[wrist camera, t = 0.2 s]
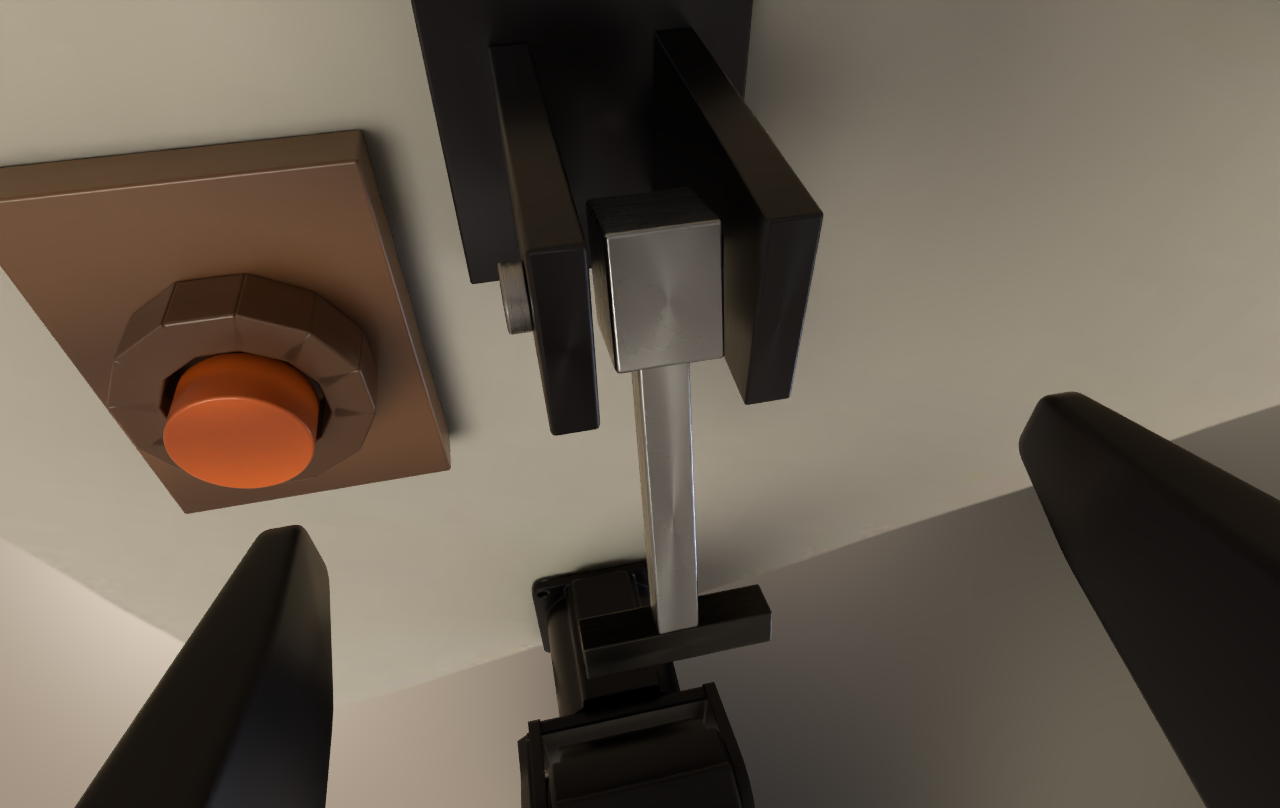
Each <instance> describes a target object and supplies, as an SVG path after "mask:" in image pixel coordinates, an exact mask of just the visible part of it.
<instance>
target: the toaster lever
mask: <svg viewBox="0 0 1280 808" xmlns="http://www.w3.org/2000/svg"><path fill="white" fill-rule="evenodd" d="M585 205H586V215H587V224H588V234H589V244H590V253H591V263H592V273H593V282H594V292H595V302H596V311H597V321H598V325H599V328H600V330H601V333H602V336H603V339H604V341H605V344H606V347H607V349H608V352H609V355H610V357H611V360H612V363H613V366H614V368H615V370H616V372H617V373H626V372H632V384H633V396H634V408H635V420H636V433H637V445H638V457H639V470H640V482H641V494H642V506H643V519H644V531H645V543H646V555H647V568H648V580H649V592H650V606H645V607H640V608H635V609H630V610H625V611H620V612H615V613H610V614H605V615H600V616H595V617H590V618H585V619H580V620H579V621H578V624H579V630H580V637H581V643H582V650H583V655H584V661H585V667H586V673H587V678H588V679H591V678H596V677H601V676H606V675H611V674H615V673H620V672H625V671H630V670H634V669H639V668H644V667H649V666H653V665H658V664H663V663H668V662H673V661H677V660H682V659H687V658H692V657H696V656H701V655H706V654H711V653H715V652H720V651H725V650H730V649H735V648H739V647H744V646H749V645H754V644H758V643H763V642H768V641H771V621H772V620H771V619H772V612H771V610H770V608H769V605H768V604H767V601H766V599H765V597H764V595H763V593H762V591H761V589H760V586H759V585H758V584H756V585H751V586H746V587H742V588H736V589H731V590H726V591H721V592H716V593H711V594H706V595H701V596H698V585H697V557H696V529H695V502H694V474H693V447H692V419H691V391H690V364H689V363H691V362H697V361H704V360H710V359H717V358H722V357H723V356H724V353H725V347H724V237H723V221H722V220H721V219H720V218H719V217H718V216H717V215H716V214H715V213H714V212H713V210H712V209H711V208H710V207H709V206H708V205H707V204H706V203H705V202H704V201H703V200H702V199H701V198H700V197H699V196H698V195H697V194H696V193H695V192H694V191H693V190H692V189H691V188H688V187H686V188H677V189H669V190H661V191H653V192H645V193H637V194H628V195H620V196H612V197H604V198H596V199H589V200H587V201H586V204H585Z"/></svg>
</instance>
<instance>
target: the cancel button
mask: <svg viewBox="0 0 1280 808" xmlns="http://www.w3.org/2000/svg"><path fill="white" fill-rule="evenodd" d="M319 406H320V404H319V398H318V395H317V392H316V390H315V388H314V387H313V385H312V384H311V382H310V381H309V380H308V379H307V378H306V377H305V376H304V375H303V374H302V373H301V372H299V371H298V370H297V369H295V368H294V367H292V366H290V365H288V364H286V363H284V362H282V361H280V360H277V359H273V358H269V357H264V356H260V355H255V354H251V353H227V354H221V355H215V356H212V357H209V358H206V359H204V360H202V361H199V362H198V363H196V364H194V365H193V366H191V367H190V368H189V369H188V370H187V371H186V372H185V373H184V374H183V375H182V376H181V378H180V380H179V382H178V385H177V388H176V391H175V394H174V398H173V401H172V404H171V407H170V411H169V414H168V417H167V421H166V424H165V427H164V430H163V441H164V445H165V448H166V451H167V453H168V454H169V456H170V457H171V459H172V460H173V461H174V462H175V463H176V464H177V465H178V466H179V467H180V468H182V469H183V470H184V471H186V472H187V473H189V474H191V475H192V476H194V477H196V478H199V479H201V480H203V481H206V482H209V483H212V484H216V485H220V486H225V487H231V488H247V489H248V488H262V487H268V486H273V485H277V484H280V483H283V482H285V481H288V480H290V479H292V478H293V477H295V476H297V475H298V474H300V473H301V472H302V471H303V470H304V469H305V468H306V467H307V466H308V464H309V463H310V462H311V460H312V458H313V455H314V451H315V443H316V434H317V426H318V417H319Z"/></svg>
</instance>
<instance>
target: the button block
mask: <svg viewBox="0 0 1280 808" xmlns="http://www.w3.org/2000/svg"><path fill="white" fill-rule="evenodd" d="M0 266H1V267H2V268H3V270H4V271H5V272H6V274H7V275H8V276H9V278H10V279H11V280H12V282H13V283H14V285H15V286H16V287H17V289H18V290H19V291H20V293H21V294H22V295H23V297H24V298H25V299H26V301H27V302H28V303H29V305H30V306H31V307H32V309H33V310H34V311H35V313H36V314H37V315H38V317H39V318H40V319H41V321H42V322H43V323H44V325H45V326H46V327H47V329H48V330H49V331H50V333H51V334H52V336H53V337H54V338H55V340H56V341H57V342H58V344H59V345H60V346H61V348H62V349H63V350H64V352H65V353H66V354H67V356H68V357H69V358H70V360H71V361H72V362H73V364H74V365H75V366H76V368H77V369H78V370H79V372H80V373H81V374H82V376H83V377H84V378H85V380H86V381H87V383H88V384H89V385H90V387H91V388H92V389H93V391H94V392H95V393H96V395H97V396H98V397H99V399H100V400H101V401H102V403H103V404H104V405H105V407H106V408H107V409H108V411H109V412H110V413H111V415H112V416H113V417H114V419H115V420H116V421H117V423H118V424H119V425H120V427H121V428H122V429H123V431H124V432H125V434H126V435H127V436H128V438H129V439H130V440H131V442H132V443H133V444H134V446H135V447H136V448H137V450H138V451H139V452H140V454H141V455H142V456H143V458H144V459H145V460H146V462H147V463H148V464H149V466H150V467H151V468H152V470H153V471H154V472H155V474H156V475H157V476H158V478H159V479H160V481H161V482H162V483H163V485H164V486H165V487H166V489H167V490H168V491H169V493H170V494H171V495H172V497H173V498H174V499H175V501H176V502H177V503H178V505H179V506H180V507H181V509H182V510H183V511H184V513H186V514H189V513H195V512H201V511H207V510H213V509H219V508H225V507H231V506H237V505H243V504H249V503H255V502H261V501H267V500H273V499H279V498H285V497H291V496H297V495H303V494H309V493H315V492H321V491H327V490H333V489H339V488H345V487H351V486H357V485H363V484H369V483H375V482H381V481H387V480H393V479H399V478H404V477H410V476H416V475H422V474H428V473H434V472H440V471H446V470H450V468H451V460H450V440H449V433H448V430H447V426H446V423H445V420H444V416H443V413H442V409H441V406H440V402H439V399H438V395H437V392H436V388H435V385H434V381H433V378H432V374H431V371H430V368H429V364H428V361H427V357H426V354H425V350H424V347H423V343H422V340H421V336H420V333H419V329H418V326H417V322H416V319H415V316H414V312H413V309H412V305H411V302H410V298H409V295H408V291H407V288H406V284H405V281H404V277H403V274H402V271H401V267H400V264H399V260H398V257H397V253H396V250H395V246H394V243H393V239H392V236H391V232H390V229H389V225H388V222H387V219H386V215H385V212H384V208H383V205H382V201H381V198H380V194H379V191H378V187H377V184H376V180H375V177H374V173H373V170H372V167H371V163H370V160H369V156H368V153H367V149H366V146H365V142H364V139H363V135H362V133H361V131H359V130H355V131H346V132H336V133H327V134H317V135H308V136H298V137H289V138H279V139H270V140H260V141H251V142H241V143H232V144H222V145H213V146H204V147H194V148H185V149H175V150H166V151H156V152H147V153H137V154H128V155H118V156H109V157H99V158H90V159H80V160H71V161H61V162H52V163H42V164H33V165H23V166H14V167H4V168H0ZM227 353H251V354H255V355H260V356H264V357H269V358H273V359H277V360H280V361H282V362H284V363H286V364H288V365H290V366H292V367H294V368H295V369H297V370H298V371H299V372H301V373H302V374H303V375H304V376H305V377H306V378H307V379H308V380H309V381H310V382H311V384H312V385H313V387H314V388H315V390H316V392H317V395H318V398H319V404H320V406H319V417H318V426H317V434H316V443H315V451H314V455H313V458H312V460H311V462H310V463H309V464H308V466H307V467H306V468H305V469H304V470H303V471H302V472H301V473H300V474H298V475H297V476H295V477H293V478H292V479H290V480H288V481H285V482H283V483H280V484H277V485H273V486H268V487H262V488H248V489H247V488H231V487H225V486H220V485H216V484H212V483H209V482H206V481H203V480H201V479H199V478H196V477H194V476H192V475H191V474H189V473H187V472H186V471H184V470H183V469H182V468H180V467H179V466H178V465H177V464H176V463H175V462H174V461H173V460H172V459H171V457H170V456H169V454H168V453H167V451H166V448H165V445H164V441H163V430H164V427H165V424H166V421H167V417H168V414H169V411H170V407H171V404H172V401H173V398H174V394H175V391H176V388H177V385H178V382H179V380H180V378H181V376H182V375H183V374H184V373H185V372H186V371H187V370H188V369H189V368H190V367H191V366H193V365H194V364H196V363H198V362H199V361H202V360H204V359H206V358H209V357H212V356H215V355H221V354H227Z"/></svg>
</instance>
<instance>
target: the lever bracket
mask: <svg viewBox="0 0 1280 808" xmlns="http://www.w3.org/2000/svg"><path fill="white" fill-rule="evenodd" d="M411 4H412V8H413V13H414V18H415V23H416V27H417V32H418V37H419V41H420V46H421V51H422V56H423V60H424V65H425V70H426V74H427V79H428V84H429V89H430V93H431V98H432V103H433V107H434V112H435V117H436V122H437V126H438V131H439V136H440V140H441V145H442V150H443V155H444V159H445V164H446V169H447V173H448V178H449V183H450V188H451V192H452V197H453V202H454V206H455V211H456V216H457V221H458V225H459V230H460V235H461V239H462V244H463V249H464V254H465V258H466V263H467V268H468V272H469V277H470V282H471V283H472V284H477V283H485V282H492V281H499V280H500V287H501V293H502V299H503V305H504V311H505V317H506V323H507V328H508V332H509V333H510V334H519V333H526V332H532V331H533V335H534V340H535V346H536V352H537V357H538V363H539V369H540V375H541V380H542V386H543V392H544V397H545V403H546V409H547V414H548V420H549V426H550V431H551V433H552V434H553V435H556V436H557V435H563V434H569V433H575V432H581V431H587V430H593V429H597V428H599V425H600V415H599V401H598V388H597V374H596V361H595V347H594V333H593V320H592V306H591V293H590V279H589V268H592V263H591V253H590V244H589V234H588V224H587V215H586V205H585V204H586V201H587V200H589V199H596V198H604V197H612V196H620V195H628V194H637V193H645V192H653V191H661V190H669V189H677V188H686V187H688V188H691V189H692V190H693V191H694V192H695V193H696V194H697V195H698V196H699V197H700V198H701V199H702V200H703V201H704V202H705V203H706V204H707V205H708V206H709V207H710V208H711V209H712V210H713V212H714V213H715V214H716V215H717V216H718V217H719V218H720V219H721V220H722V221H723V237H724V347H725V353H724V357H725V359H726V362H727V364H728V366H729V369H730V371H731V373H732V376H733V378H734V380H735V382H736V385H737V387H738V389H739V392H740V394H741V396H742V399H743V401H744V403H745V404H746V405H750V404H756V403H762V402H768V401H774V400H780V399H786V398H789V397H790V394H791V389H792V383H793V378H794V373H795V367H796V362H797V356H798V351H799V345H800V340H801V335H802V329H803V324H804V318H805V313H806V307H807V302H808V296H809V291H810V286H811V280H812V275H813V269H814V264H815V258H816V253H817V248H818V242H819V237H820V231H821V226H822V220H823V212H822V211H821V209H820V208H819V207H818V205H817V204H816V202H815V201H814V199H813V198H812V197H811V195H810V194H809V192H808V191H807V189H806V188H805V187H804V185H803V184H802V182H801V181H800V180H799V178H798V177H797V175H796V174H795V172H794V171H793V170H792V168H791V167H790V165H789V164H788V163H787V161H786V160H785V158H784V157H783V155H782V154H781V153H780V151H779V150H778V148H777V147H776V145H775V144H774V143H773V141H772V140H771V138H770V137H769V136H768V134H767V133H766V131H765V130H764V128H763V127H762V126H761V124H760V123H759V121H758V120H757V119H756V117H755V116H754V114H753V113H752V111H751V110H750V109H749V107H748V106H747V104H746V103H745V101H744V96H745V85H746V74H747V62H748V51H749V39H750V28H751V16H752V5H753V0H411Z"/></svg>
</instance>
